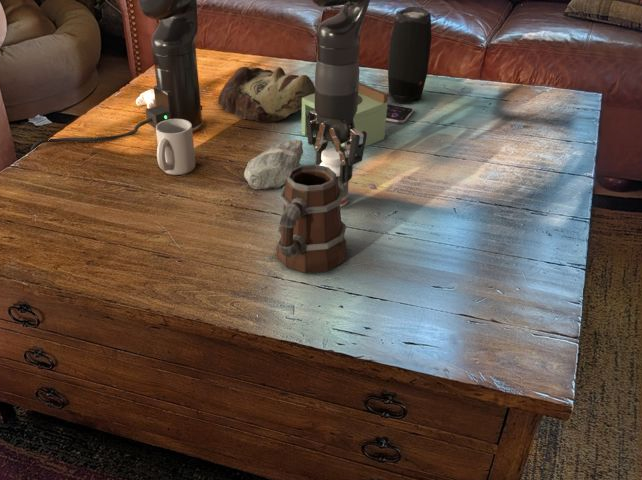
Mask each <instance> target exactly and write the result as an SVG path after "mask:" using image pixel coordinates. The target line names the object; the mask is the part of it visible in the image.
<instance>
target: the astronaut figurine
mask: <svg viewBox="0 0 642 480" xmlns="http://www.w3.org/2000/svg"><path fill="white" fill-rule="evenodd" d="M135 104H136V106H138V107H142V106H145V105H146V108H147V109H149V108H153V107H156V103H155V95H154V88H151V89H148V90H146V91H143V92H141V93H140V94H139V96H138V97H137V98H136V100H135Z"/></svg>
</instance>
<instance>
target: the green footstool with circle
mask: <svg viewBox="0 0 642 480" xmlns="http://www.w3.org/2000/svg"><path fill="white" fill-rule="evenodd" d="M388 98H389V93H387V92H384V91H383V90H380V89H377V88H375V87H373V86H370V85H368V84H364V83H362V82H360V81H359V90H358V107H357V112H356V114H355V116H354V119H353V121H354V125H355V129H356V130H358V131H359V132H362V131H365V132H366V133H367V138H366V143H365V147H368V146H370V145H372V144H375V143H377V142H381V141H382V140H385V135H386V123H387V120H386V113H387V104H388V100H389V99H388ZM313 110H315V93H314V94H311V95H309V96H306V97H303V98H302V108H301V134H302V135H303V136H307V126H306V116H305V115H306V113H308V112H310V111H313ZM313 133H315V131H314V132H313ZM346 144H347V141H346V142H345V143H343V144H341V146H345V145H346ZM346 152H347V150H346ZM347 155H348V153H347Z"/></svg>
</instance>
